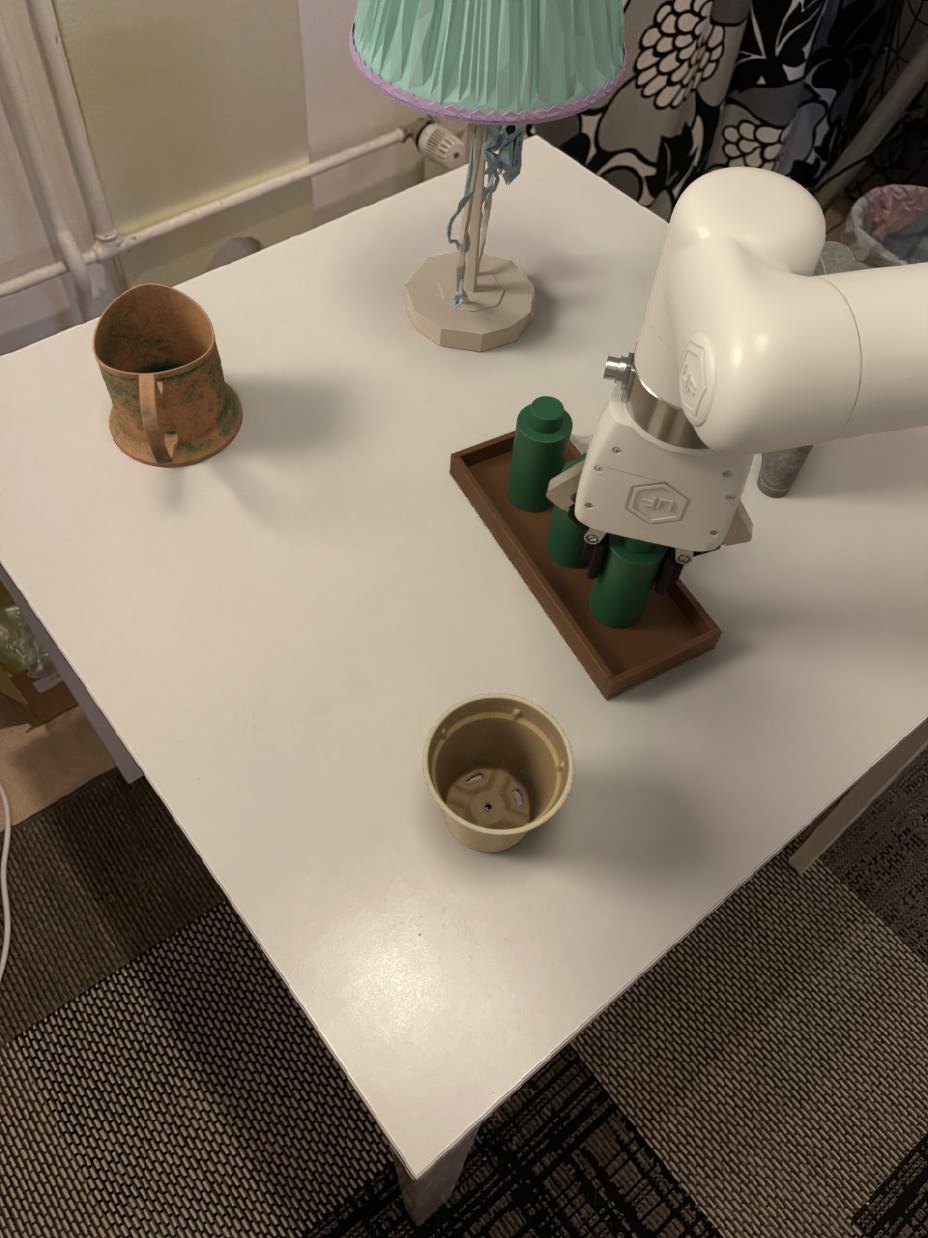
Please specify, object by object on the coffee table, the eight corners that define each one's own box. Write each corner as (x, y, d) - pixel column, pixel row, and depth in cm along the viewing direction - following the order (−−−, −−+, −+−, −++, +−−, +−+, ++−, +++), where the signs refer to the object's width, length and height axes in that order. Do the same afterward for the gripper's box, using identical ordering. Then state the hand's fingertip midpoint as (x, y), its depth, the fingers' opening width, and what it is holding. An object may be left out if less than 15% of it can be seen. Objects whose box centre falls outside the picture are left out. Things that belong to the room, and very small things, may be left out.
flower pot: (583, 810, 64) (605, 759, 57) (492, 907, 60) (504, 866, 53) (485, 724, 68) (494, 666, 60) (392, 811, 64) (390, 760, 56)
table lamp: (556, 403, 86) (653, -115, 52) (333, 357, 88) (289, -173, 54) (592, 263, 97) (690, -235, 64) (394, 225, 99) (389, -280, 66)
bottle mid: (609, 556, 76) (634, 475, 67) (564, 576, 74) (584, 495, 66) (580, 519, 78) (601, 435, 69) (536, 537, 76) (552, 454, 68)
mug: (109, 529, 75) (63, 424, 65) (110, 379, 84) (70, 267, 74) (252, 512, 77) (229, 407, 67) (238, 367, 86) (215, 256, 76)
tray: (714, 648, 72) (723, 632, 70) (606, 700, 69) (612, 685, 67) (548, 435, 84) (551, 416, 82) (449, 472, 81) (450, 453, 79)
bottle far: (567, 501, 79) (586, 417, 70) (523, 519, 77) (537, 435, 69) (541, 466, 81) (556, 380, 72) (497, 483, 79) (508, 397, 71)
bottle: (654, 615, 73) (686, 538, 64) (607, 636, 71) (635, 560, 63) (623, 574, 75) (650, 494, 66) (577, 594, 73) (600, 515, 65)
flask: (793, 388, 89) (872, 220, 74) (798, 501, 81) (889, 338, 66) (755, 383, 89) (826, 213, 74) (757, 494, 81) (837, 331, 66)
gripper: (537, 405, 53) (507, 586, 68) (833, 468, 51) (734, 638, 67) (561, 321, 57) (527, 510, 72) (836, 377, 55) (742, 557, 71)
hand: (627, 570), depth 69 cm, fingers closed on bottle, 4 cm apart
